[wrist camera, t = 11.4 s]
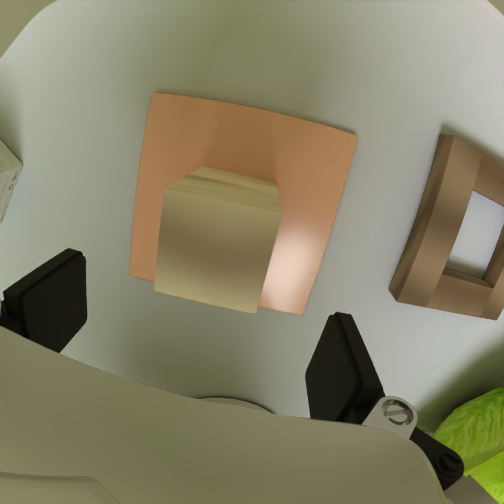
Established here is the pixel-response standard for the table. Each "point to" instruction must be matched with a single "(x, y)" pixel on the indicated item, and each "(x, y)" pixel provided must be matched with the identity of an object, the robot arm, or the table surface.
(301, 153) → the pad
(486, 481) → the lettuce
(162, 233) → the maple block
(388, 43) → the table surface
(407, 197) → the table surface
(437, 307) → the pocket block
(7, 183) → the supplement box
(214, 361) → the table surface
